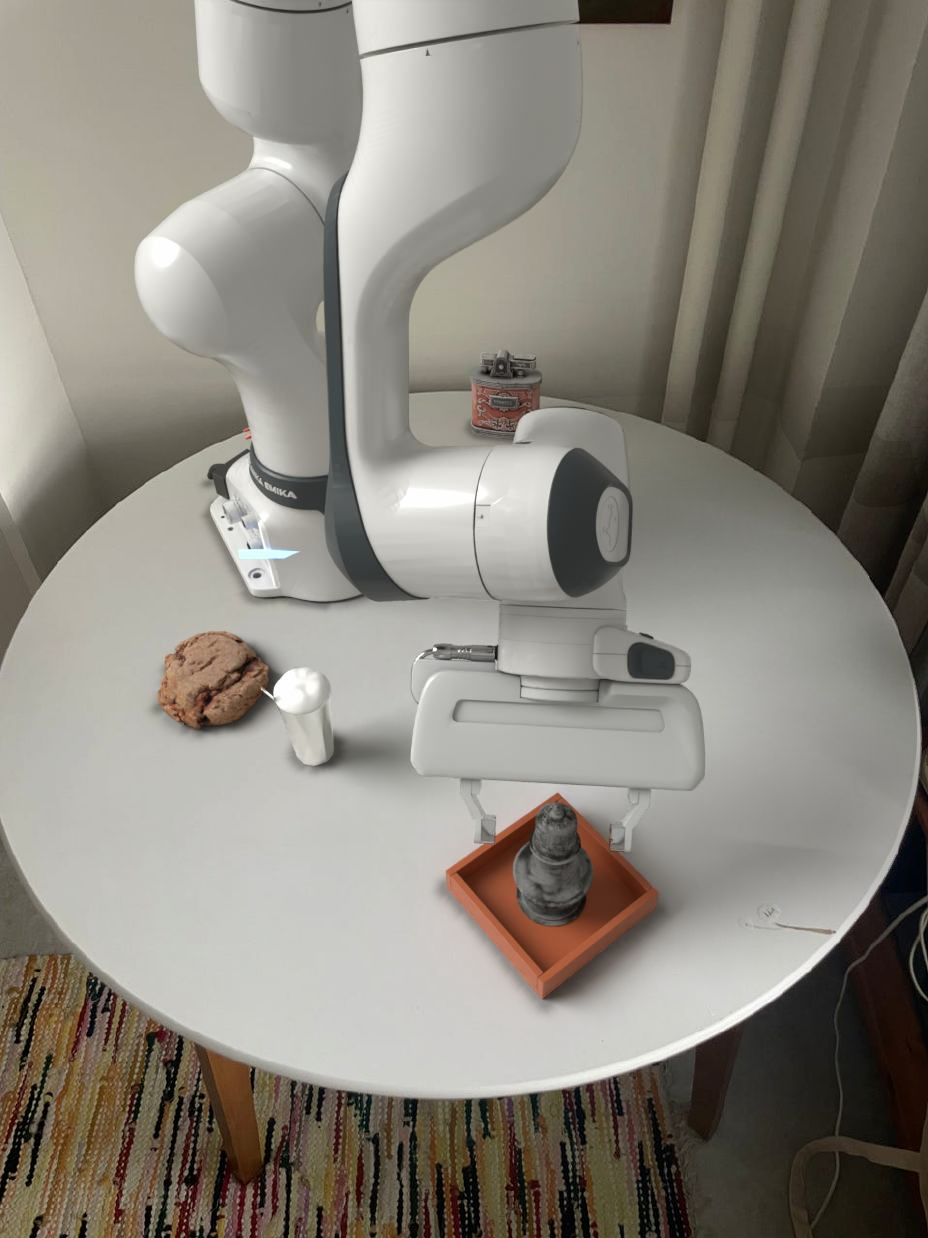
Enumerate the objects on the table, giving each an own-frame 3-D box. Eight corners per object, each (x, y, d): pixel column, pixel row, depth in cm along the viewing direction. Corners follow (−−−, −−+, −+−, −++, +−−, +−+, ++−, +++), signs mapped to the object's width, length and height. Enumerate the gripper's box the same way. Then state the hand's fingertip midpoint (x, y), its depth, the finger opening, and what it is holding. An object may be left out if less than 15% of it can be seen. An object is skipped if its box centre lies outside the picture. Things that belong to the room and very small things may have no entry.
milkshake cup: (273, 743, 89) (252, 667, 81) (332, 722, 90) (317, 646, 83) (288, 783, 86) (268, 708, 78) (349, 761, 87) (335, 685, 80)
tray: (446, 887, 79) (445, 870, 77) (556, 809, 83) (557, 791, 81) (542, 999, 72) (543, 984, 71) (655, 908, 77) (659, 892, 75)
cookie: (242, 628, 98) (236, 606, 96) (286, 702, 92) (281, 680, 89) (141, 669, 95) (133, 647, 93) (180, 749, 88) (171, 727, 86)
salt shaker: (585, 937, 75) (596, 851, 66) (506, 923, 76) (506, 836, 67) (594, 866, 79) (606, 776, 70) (519, 854, 80) (521, 763, 71)
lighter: (468, 435, 118) (466, 359, 111) (473, 418, 120) (471, 342, 113) (538, 441, 117) (541, 364, 110) (541, 423, 119) (544, 347, 112)
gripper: (406, 644, 69) (398, 848, 69) (715, 658, 67) (704, 867, 68) (417, 639, 75) (410, 827, 76) (700, 652, 74) (690, 843, 74)
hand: (551, 846), depth 72 cm, fingers open, 8 cm apart
